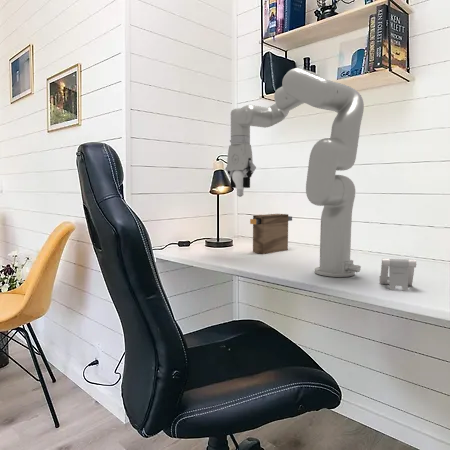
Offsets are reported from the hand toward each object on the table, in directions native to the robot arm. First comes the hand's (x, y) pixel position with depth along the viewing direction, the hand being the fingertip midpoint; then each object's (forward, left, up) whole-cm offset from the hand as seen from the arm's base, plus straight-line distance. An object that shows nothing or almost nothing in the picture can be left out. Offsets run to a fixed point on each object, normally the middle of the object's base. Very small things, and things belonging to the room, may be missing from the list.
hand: (240, 187), depth 168 cm
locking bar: (0, -20, -15) cm, 25 cm away
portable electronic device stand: (-66, +4, -28) cm, 72 cm away
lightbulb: (0, 0, -4) cm, 4 cm away
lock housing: (0, -19, -27) cm, 33 cm away
